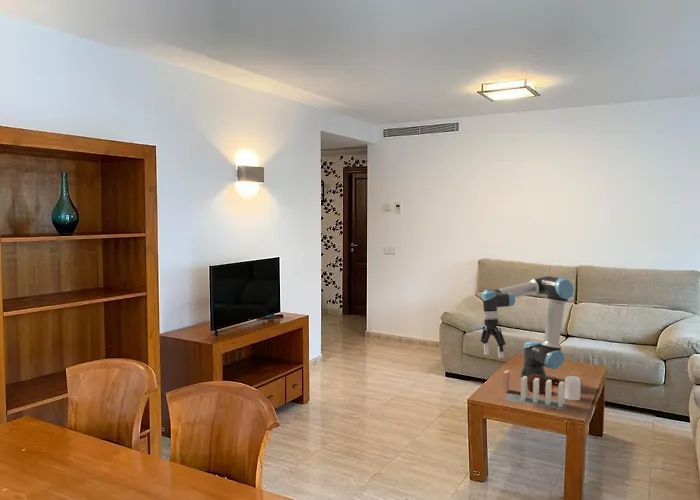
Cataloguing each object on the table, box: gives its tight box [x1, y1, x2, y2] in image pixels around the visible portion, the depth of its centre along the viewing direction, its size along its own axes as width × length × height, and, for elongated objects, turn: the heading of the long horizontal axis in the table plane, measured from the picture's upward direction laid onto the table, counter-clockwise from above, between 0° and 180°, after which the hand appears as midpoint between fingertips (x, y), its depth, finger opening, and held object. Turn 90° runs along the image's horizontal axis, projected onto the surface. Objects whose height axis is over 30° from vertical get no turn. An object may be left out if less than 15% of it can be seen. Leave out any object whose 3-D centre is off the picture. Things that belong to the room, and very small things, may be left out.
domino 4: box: [544, 379, 553, 405], centre depth 297 cm, size 2×6×12 cm, turn 150°
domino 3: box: [532, 378, 540, 403], centre depth 300 cm, size 2×6×12 cm, turn 150°
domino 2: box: [520, 376, 528, 401], centre depth 303 cm, size 2×6×12 cm, turn 150°
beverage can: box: [564, 375, 582, 401], centre depth 305 cm, size 8×8×12 cm
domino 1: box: [502, 369, 510, 394], centre depth 317 cm, size 2×6×12 cm, turn 150°
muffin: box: [527, 374, 548, 394], centre depth 317 cm, size 12×11×10 cm
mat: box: [503, 392, 570, 411], centre depth 300 cm, size 13×32×1 cm, turn 60°
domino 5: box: [557, 380, 565, 407], centre depth 293 cm, size 2×6×12 cm, turn 150°
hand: (493, 356), depth 311 cm, fingers open, 13 cm apart
